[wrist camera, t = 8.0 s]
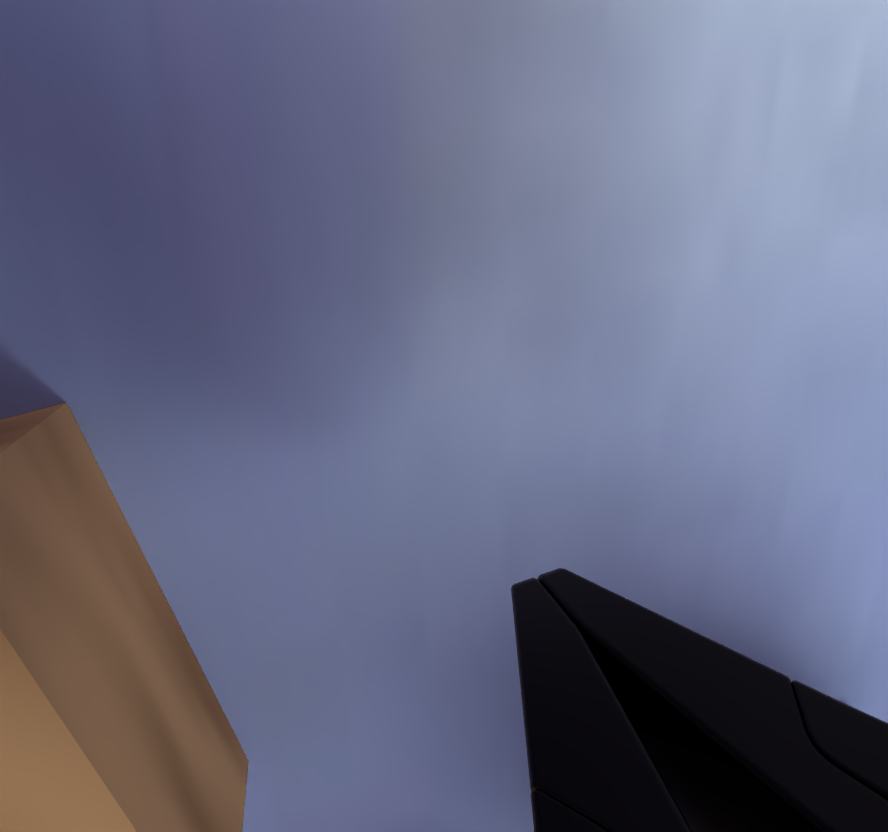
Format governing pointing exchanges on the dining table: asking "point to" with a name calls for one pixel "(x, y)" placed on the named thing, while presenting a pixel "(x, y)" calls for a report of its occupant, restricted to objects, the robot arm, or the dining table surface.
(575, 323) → the dining table surface
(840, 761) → the robot arm
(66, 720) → the oak block
